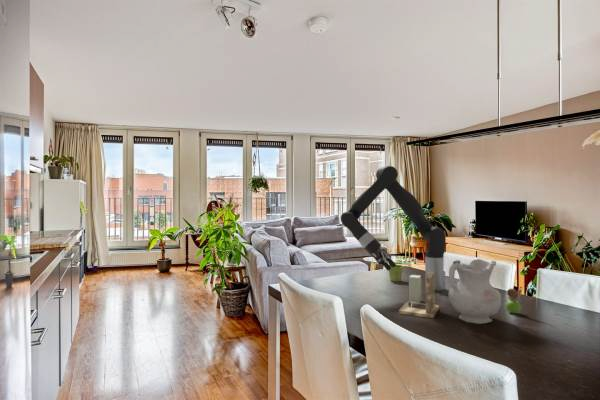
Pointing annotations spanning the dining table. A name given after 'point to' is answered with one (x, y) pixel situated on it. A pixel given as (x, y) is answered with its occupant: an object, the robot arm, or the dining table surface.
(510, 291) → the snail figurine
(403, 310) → the hinge base
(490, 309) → the ceramic pitcher
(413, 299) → the pale green block
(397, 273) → the plant pot
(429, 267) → the robot arm
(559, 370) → the dining table surface
